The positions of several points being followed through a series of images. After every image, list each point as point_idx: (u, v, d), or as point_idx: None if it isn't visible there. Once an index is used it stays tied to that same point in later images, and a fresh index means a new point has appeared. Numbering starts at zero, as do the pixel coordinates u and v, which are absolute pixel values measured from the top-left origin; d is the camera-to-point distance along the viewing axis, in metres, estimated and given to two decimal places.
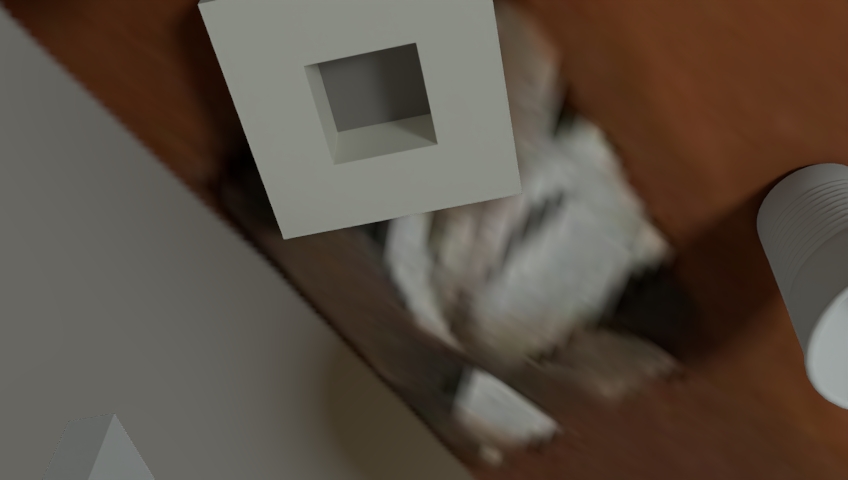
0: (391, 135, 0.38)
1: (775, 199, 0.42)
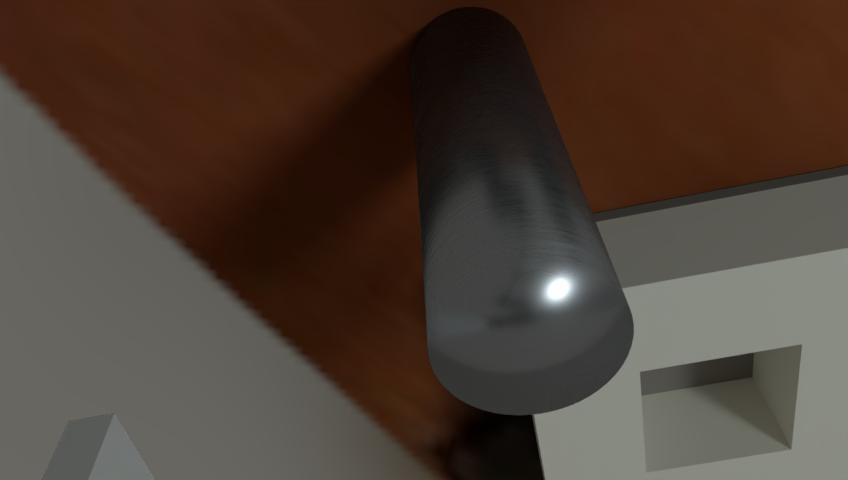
0: (707, 417, 0.29)
1: None
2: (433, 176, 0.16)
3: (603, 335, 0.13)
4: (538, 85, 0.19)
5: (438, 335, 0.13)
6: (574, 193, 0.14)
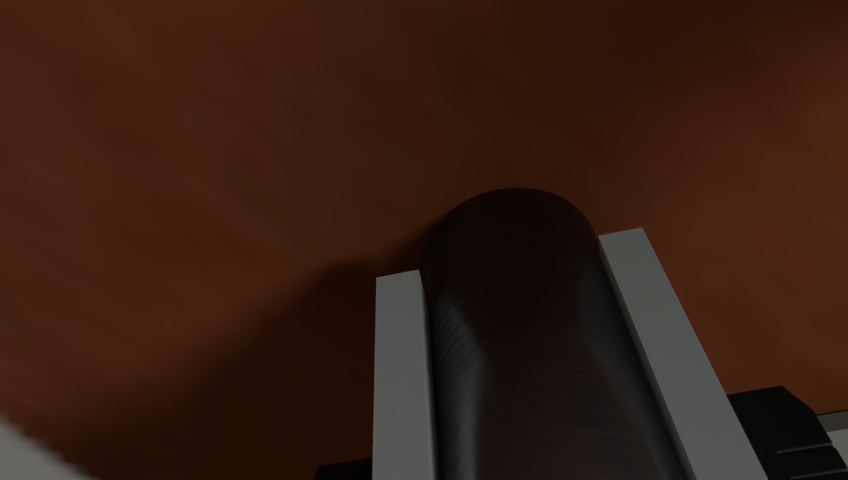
0: None
1: None
2: None
3: None
4: None
5: None
6: None
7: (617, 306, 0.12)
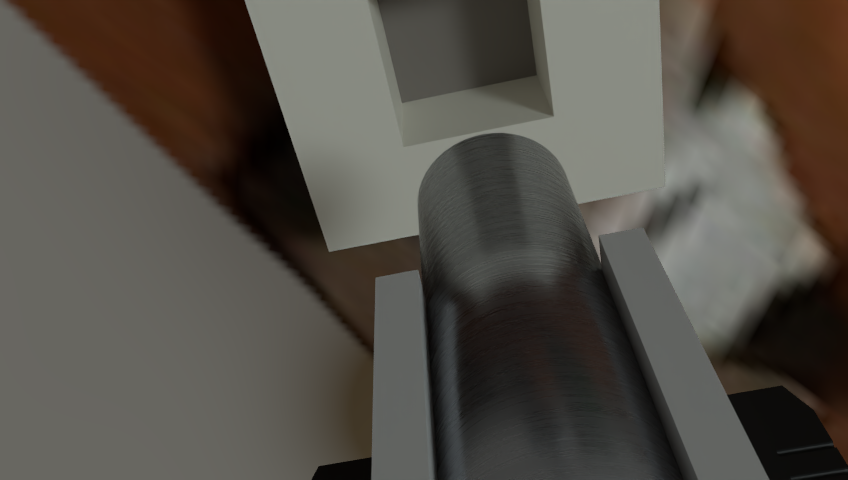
0: (481, 105, 0.27)
1: None
2: (457, 459, 0.10)
3: None
4: (598, 267, 0.13)
5: None
6: None
7: (580, 226, 0.14)
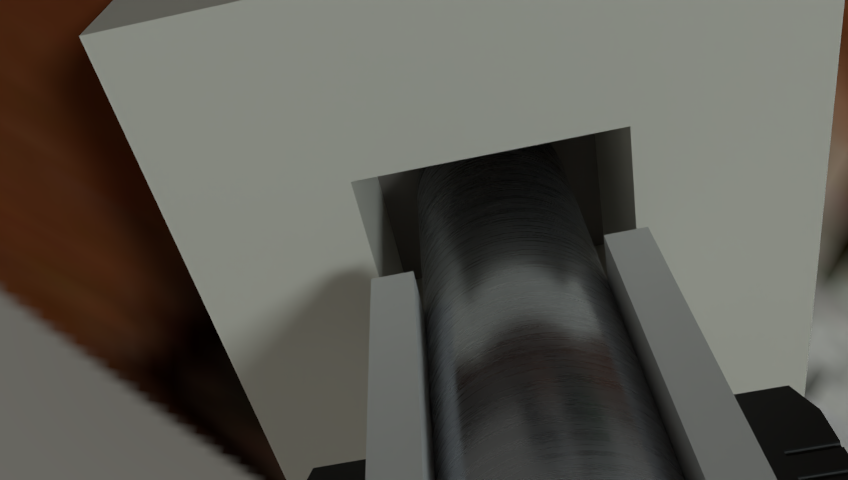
0: None
1: None
2: (454, 429, 0.11)
3: None
4: (591, 249, 0.14)
5: None
6: None
7: (574, 211, 0.15)
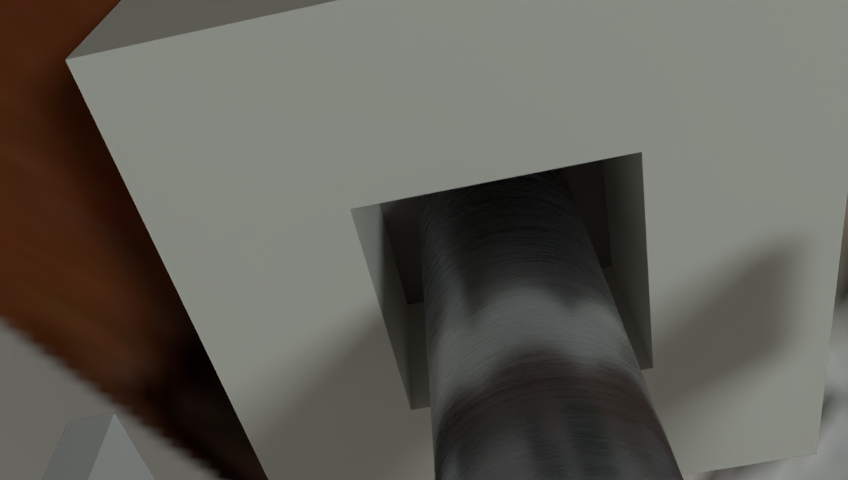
0: None
1: None
2: (458, 460, 0.10)
3: None
4: (597, 269, 0.14)
5: None
6: None
7: (579, 228, 0.15)
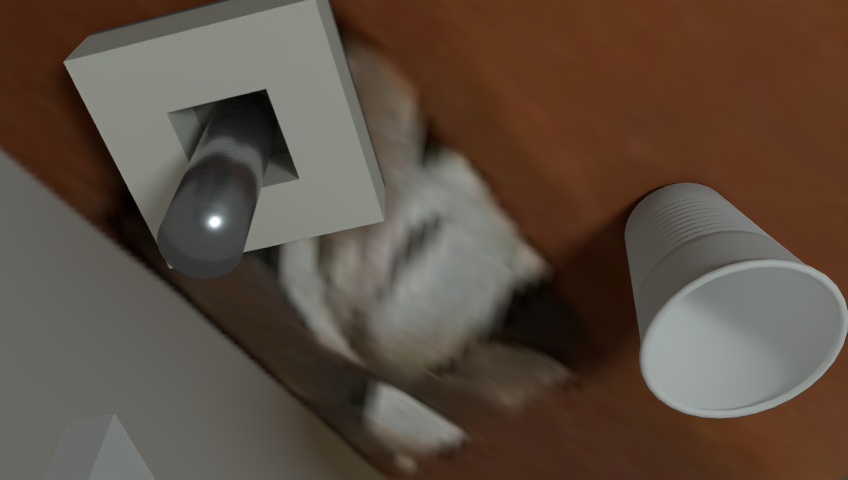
0: None
1: (635, 218, 0.45)
2: (182, 178, 0.34)
3: (229, 240, 0.31)
4: (257, 132, 0.37)
5: (160, 241, 0.31)
6: (233, 183, 0.33)
7: (258, 120, 0.38)
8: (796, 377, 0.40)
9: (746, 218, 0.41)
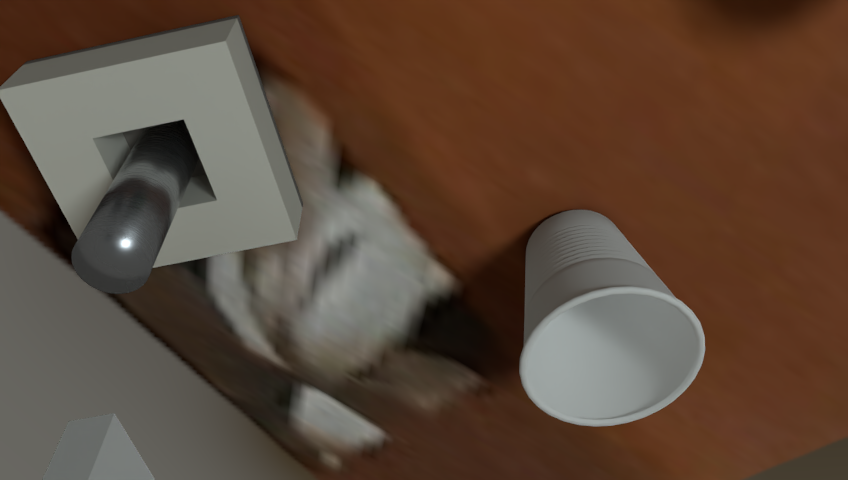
0: (186, 190, 0.45)
1: (533, 240, 0.49)
2: None
3: (137, 260, 0.35)
4: (175, 158, 0.41)
5: (75, 259, 0.35)
6: (145, 208, 0.36)
7: (179, 147, 0.42)
8: (665, 390, 0.44)
9: (627, 245, 0.45)
